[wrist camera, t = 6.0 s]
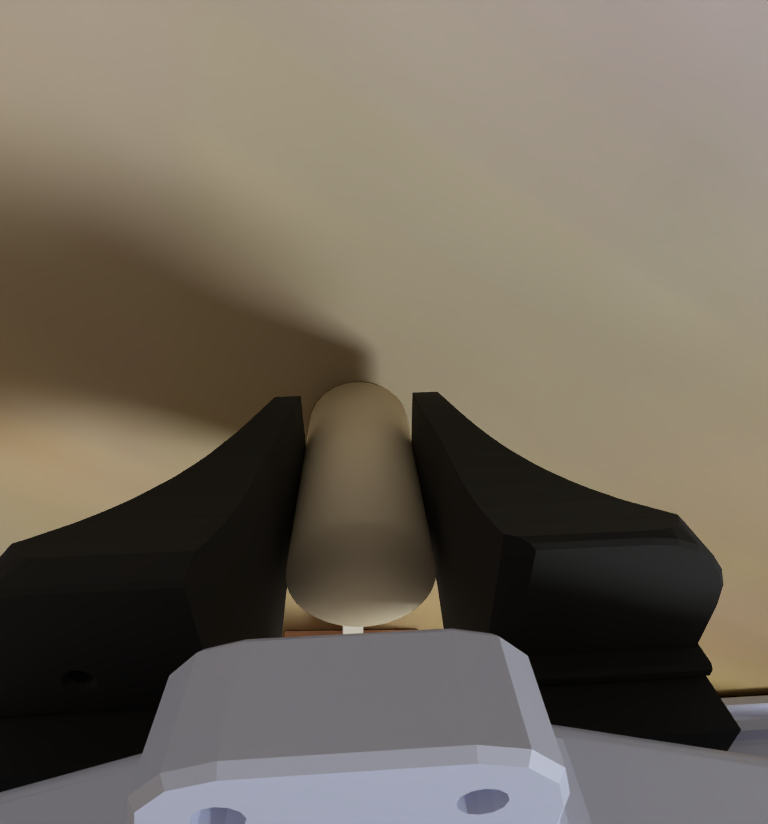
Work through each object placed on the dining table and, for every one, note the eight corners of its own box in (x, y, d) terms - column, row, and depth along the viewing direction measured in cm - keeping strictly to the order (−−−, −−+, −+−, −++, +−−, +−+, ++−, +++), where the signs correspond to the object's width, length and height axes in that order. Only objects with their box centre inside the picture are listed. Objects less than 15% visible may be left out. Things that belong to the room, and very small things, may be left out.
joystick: (451, 384, 13) (513, 542, 8) (407, 704, 21) (425, 893, 16) (266, 379, 13) (208, 542, 8) (290, 707, 20) (269, 902, 15)
